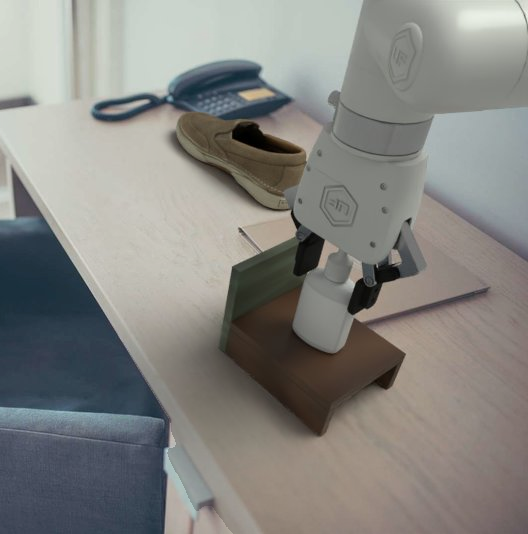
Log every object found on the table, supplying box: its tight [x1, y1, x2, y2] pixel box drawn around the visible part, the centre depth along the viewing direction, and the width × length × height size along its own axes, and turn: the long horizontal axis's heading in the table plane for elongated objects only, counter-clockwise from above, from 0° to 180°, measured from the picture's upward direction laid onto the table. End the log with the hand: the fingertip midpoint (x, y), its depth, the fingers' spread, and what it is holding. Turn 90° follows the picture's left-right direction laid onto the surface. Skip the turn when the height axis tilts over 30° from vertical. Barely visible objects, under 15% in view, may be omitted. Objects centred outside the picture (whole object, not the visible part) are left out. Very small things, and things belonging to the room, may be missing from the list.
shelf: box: [218, 236, 407, 437], centre depth 69 cm, size 15×12×12 cm
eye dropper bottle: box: [292, 248, 356, 354], centre depth 65 cm, size 4×6×12 cm
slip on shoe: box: [175, 111, 308, 210], centre depth 105 cm, size 30×11×9 cm, turn 25°
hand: (331, 287), depth 64 cm, fingers open, 6 cm apart
